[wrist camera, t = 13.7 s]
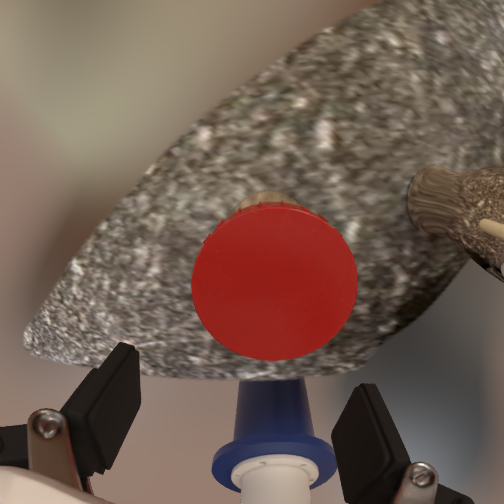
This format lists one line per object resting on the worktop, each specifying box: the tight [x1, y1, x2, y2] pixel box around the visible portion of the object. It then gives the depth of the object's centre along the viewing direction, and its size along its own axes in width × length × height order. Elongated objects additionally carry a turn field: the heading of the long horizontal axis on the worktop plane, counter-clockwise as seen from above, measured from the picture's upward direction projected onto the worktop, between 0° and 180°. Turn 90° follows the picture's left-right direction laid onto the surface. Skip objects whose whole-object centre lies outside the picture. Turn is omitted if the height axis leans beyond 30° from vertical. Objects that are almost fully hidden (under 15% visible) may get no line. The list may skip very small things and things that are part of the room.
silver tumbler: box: [407, 165, 504, 282], centre depth 14 cm, size 7×7×15 cm
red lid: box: [191, 200, 358, 361], centre depth 13 cm, size 7×7×2 cm
